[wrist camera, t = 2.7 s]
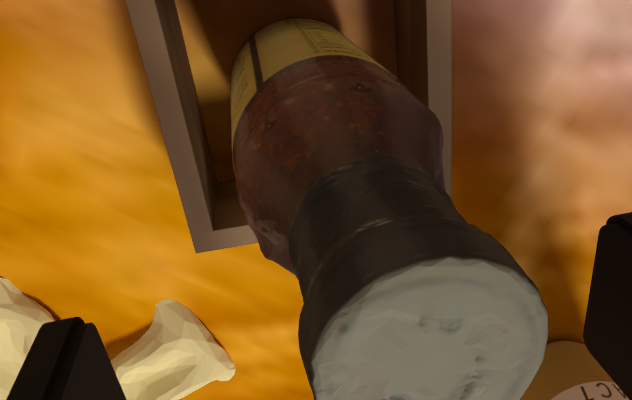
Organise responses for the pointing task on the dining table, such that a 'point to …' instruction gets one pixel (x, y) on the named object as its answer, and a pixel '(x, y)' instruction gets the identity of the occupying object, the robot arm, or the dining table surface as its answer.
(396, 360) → the sauce bottle
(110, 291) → the dining table surface
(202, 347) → the cloth
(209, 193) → the holder
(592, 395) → the bark textured cylinder
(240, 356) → the dining table surface
